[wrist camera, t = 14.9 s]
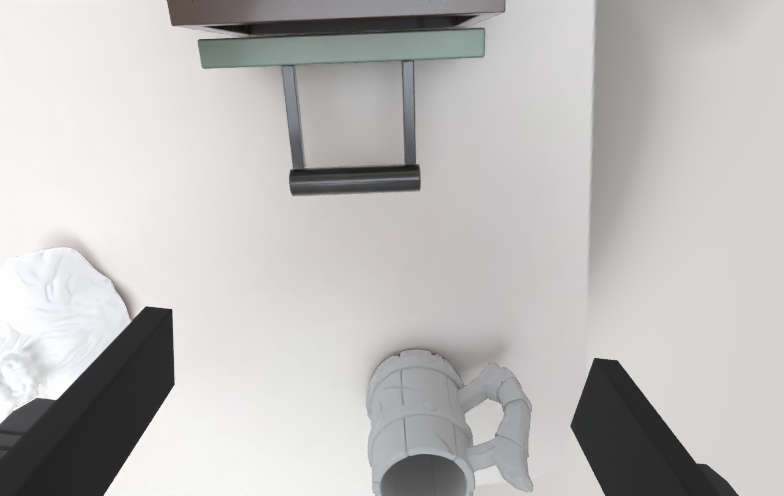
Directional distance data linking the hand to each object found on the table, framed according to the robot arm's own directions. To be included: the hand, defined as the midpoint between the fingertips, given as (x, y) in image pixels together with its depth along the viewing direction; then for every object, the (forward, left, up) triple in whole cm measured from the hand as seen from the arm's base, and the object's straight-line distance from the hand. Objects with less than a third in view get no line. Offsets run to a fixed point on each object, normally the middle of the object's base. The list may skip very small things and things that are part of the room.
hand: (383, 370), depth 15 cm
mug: (-15, -4, -19) cm, 25 cm away
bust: (-7, +22, -19) cm, 31 cm away
